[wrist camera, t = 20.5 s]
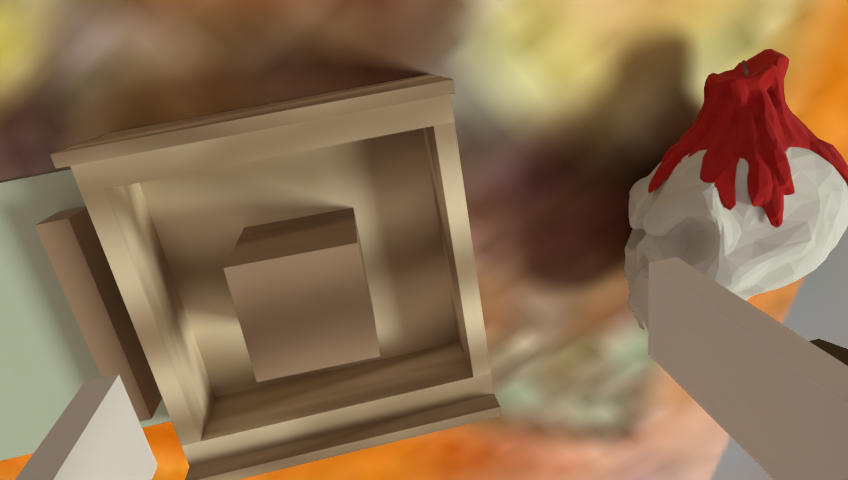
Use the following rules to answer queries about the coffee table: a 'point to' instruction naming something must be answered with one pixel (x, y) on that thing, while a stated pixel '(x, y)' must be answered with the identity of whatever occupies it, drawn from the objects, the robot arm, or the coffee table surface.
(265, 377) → the walnut block
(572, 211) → the coffee table surface
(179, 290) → the box
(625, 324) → the coffee table surface
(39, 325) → the lid
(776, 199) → the candle
